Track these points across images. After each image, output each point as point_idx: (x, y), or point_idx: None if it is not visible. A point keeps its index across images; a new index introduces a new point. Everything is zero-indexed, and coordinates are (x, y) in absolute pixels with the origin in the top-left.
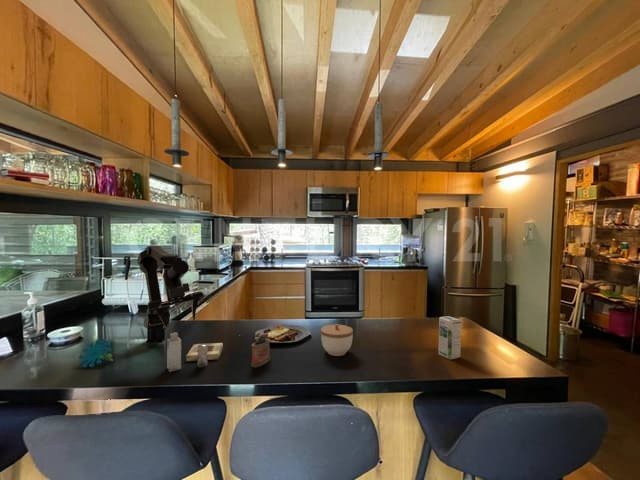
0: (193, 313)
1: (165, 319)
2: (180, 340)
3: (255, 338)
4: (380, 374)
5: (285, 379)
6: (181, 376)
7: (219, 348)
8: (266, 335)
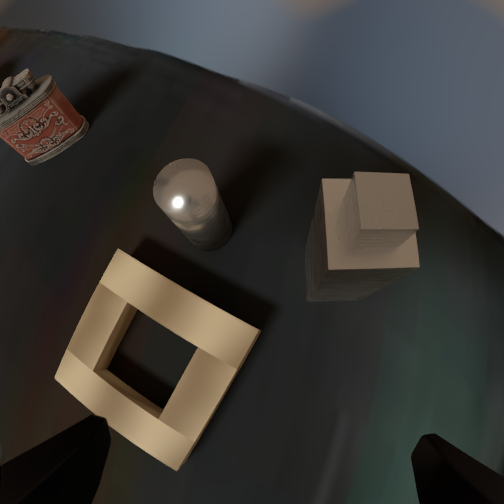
0: (52, 463)
1: (474, 485)
2: (326, 180)
3: (28, 70)
4: (12, 41)
5: (93, 48)
6: (316, 175)
7: (87, 314)
8: None
